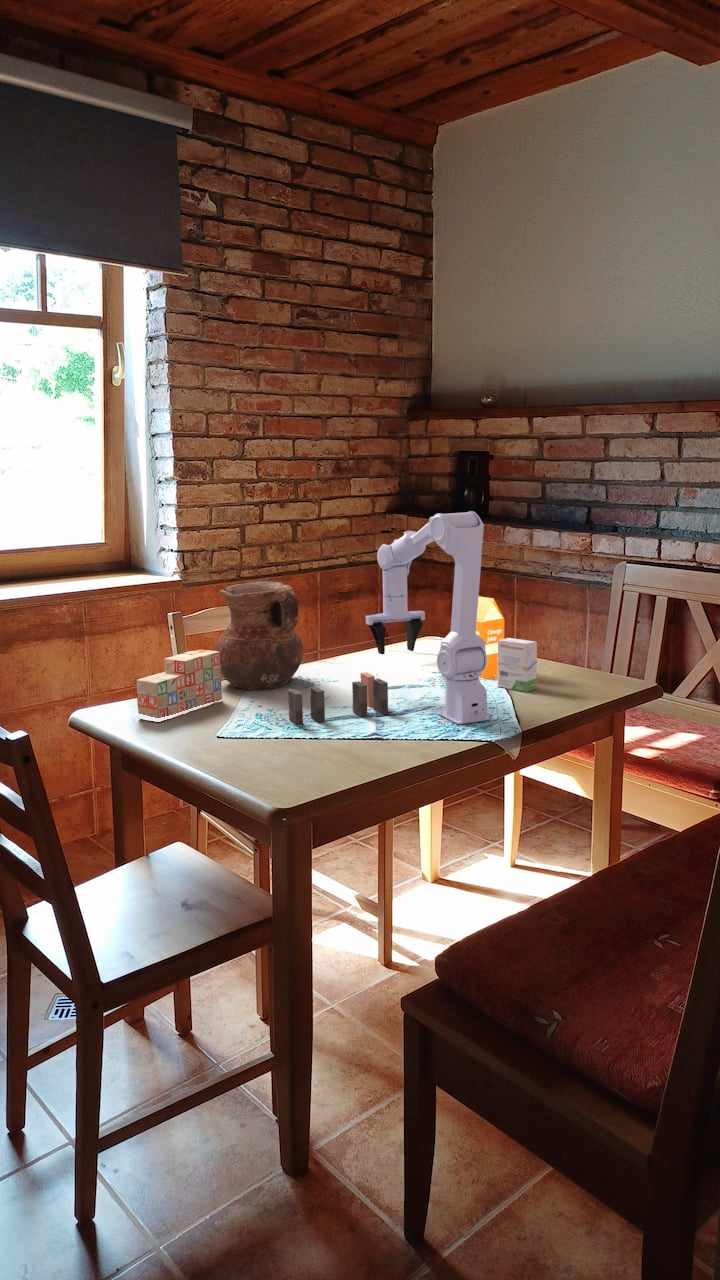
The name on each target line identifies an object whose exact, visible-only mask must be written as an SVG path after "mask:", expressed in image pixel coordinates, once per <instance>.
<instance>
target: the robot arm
mask: <svg viewBox="0 0 720 1280" xmlns="http://www.w3.org/2000/svg"><path fill="white" fill-rule="evenodd" d="M484 525H485V524H484V522H483V521H482V519H481V518H480V516H479V515H478V514H477V512H475V511H473V510H469V511H467V512H465V511H464V512H454V513H453V512H452V513H436V514H434V515H433V516H430V517H429V519H428V522H427V523H426V524H425V525H424V526H423V527H421V528H420V529H419V530H418V531H413V530H406V531H404V532H403V535H402V536H401V537H399V538H396V539H394V540H393V542H392V543H391V544H382V545H380V546H379V548H378V550H377V555H376V559H377V563H378V565H379V567H380V569H381V570H382V606H383V607H382V608H383V609H382V610H383V611H382V612H383V613H376V614H370V615H365V625H368V628H369V630H370V632H371V635H372V636H373V638H374V641H375V645H376V647H377V651H378V654H380V655H385V652H386V651H385V650H386V647H385V645H386V644H385V639H386V630H387V627H386V626H384V624H386V623H387V624H388V623H398V622H404V623H405V630H406V646H407V647H406V648H407V650H408V651H409V652H414V651H415V647H416V642H417V638H418V636H419V633H420V631H421V629H422V627H423V624H424V622H423V621H425V620H426V612H425V611H423V610H412V611H411V610H410V611H409V609H408V576H409V574H410V566H411V565H412V562H413V560H414V559H416V558H417V557H419V556H421V555H423V553H424V552H425V550H426V547H427V545H428V544H431V543H433V542H435V543H436V544H437V545H438V546H439V547H440V549H442V550H443V551H444V552H445V553H446V555H450V556H452V558H453V559H454V562H455V563H454V573H453V574H454V575H453V576H454V577H453V588H452V589H453V590H452V591H453V592H452V604H451V605H452V606H451V619H450V620H451V621H450V632H448V634H447V635H446V636H445V637H444V638H443V639H442V640H441V642H440V649H439V652H438V653H437V657H436V665H437V669H438V671H439V674H441V676H442V678H444V679H445V685H444V686H445V710H442V711H438V712H437V715H440V716H441V717H443V718H445V719H447V720H448V721H450V722H452V723H454V724H457V725H462V724H470V723H478V722H483V721H485V722H486V721H490V720H491V717H490V716H488V715H487V714H488V712H487V709H488V706H487V705H488V702H487V701H488V698H487V697H488V694H487V693H488V692H487V689H486V687H485V686H484V685H483V684H482V683H481V681H480V678H479V677H480V676H482V671H484V670H485V668H486V665H487V654H486V649H485V646H486V642H485V641H484V640H483V639H482V638H481V637H480V636H479V635H477V634H476V624H477V611H478V598H479V596H480V583H481V582H480V581H481V571H482V570H481V569H482V568H481V567H482V555H483V554H482V550H483V543H484V542H483V540H484V529H485V528H484V527H485V526H484Z"/></svg>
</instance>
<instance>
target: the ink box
mask: <svg viewBox="0 0 720 1280" xmlns="http://www.w3.org/2000/svg"><path fill="white" fill-rule="evenodd" d="M537 676H538V642H537V641H533V640H527V639H520V638H513V637H506V638H504V639H501V640H499V641H498V676H497V680H496V681H497V688H501V687H503V688H502V689H506V690H507V689H508V690H511V691H512V690H514V691H518V692H522V693H523V692H525V693H528V692H530V691H534V690H536V689H537V687H538V686H537V684H538V682H537V681H538V680H537V679H538V677H537Z"/></svg>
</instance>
